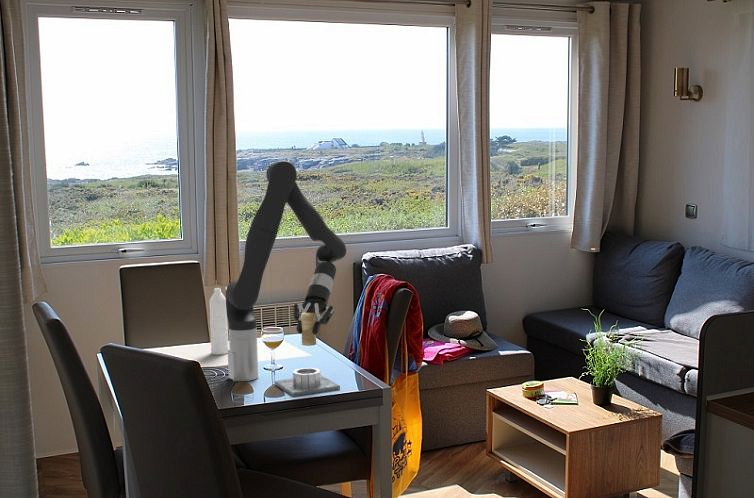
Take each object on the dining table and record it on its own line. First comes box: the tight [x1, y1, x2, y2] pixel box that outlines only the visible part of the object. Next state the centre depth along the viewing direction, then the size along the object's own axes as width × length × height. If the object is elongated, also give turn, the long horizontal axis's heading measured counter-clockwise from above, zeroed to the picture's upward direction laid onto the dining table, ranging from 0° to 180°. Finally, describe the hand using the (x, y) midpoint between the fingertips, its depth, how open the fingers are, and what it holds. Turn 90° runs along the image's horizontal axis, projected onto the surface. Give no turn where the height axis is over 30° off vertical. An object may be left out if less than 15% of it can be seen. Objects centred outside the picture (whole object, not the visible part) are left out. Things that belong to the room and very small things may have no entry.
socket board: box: [274, 367, 341, 397], centre depth 280 cm, size 16×16×5 cm
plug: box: [300, 312, 317, 347], centre depth 280 cm, size 5×5×10 cm
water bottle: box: [208, 286, 230, 356], centre depth 329 cm, size 9×6×25 cm
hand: (306, 332), depth 278 cm, fingers closed on plug, 4 cm apart
